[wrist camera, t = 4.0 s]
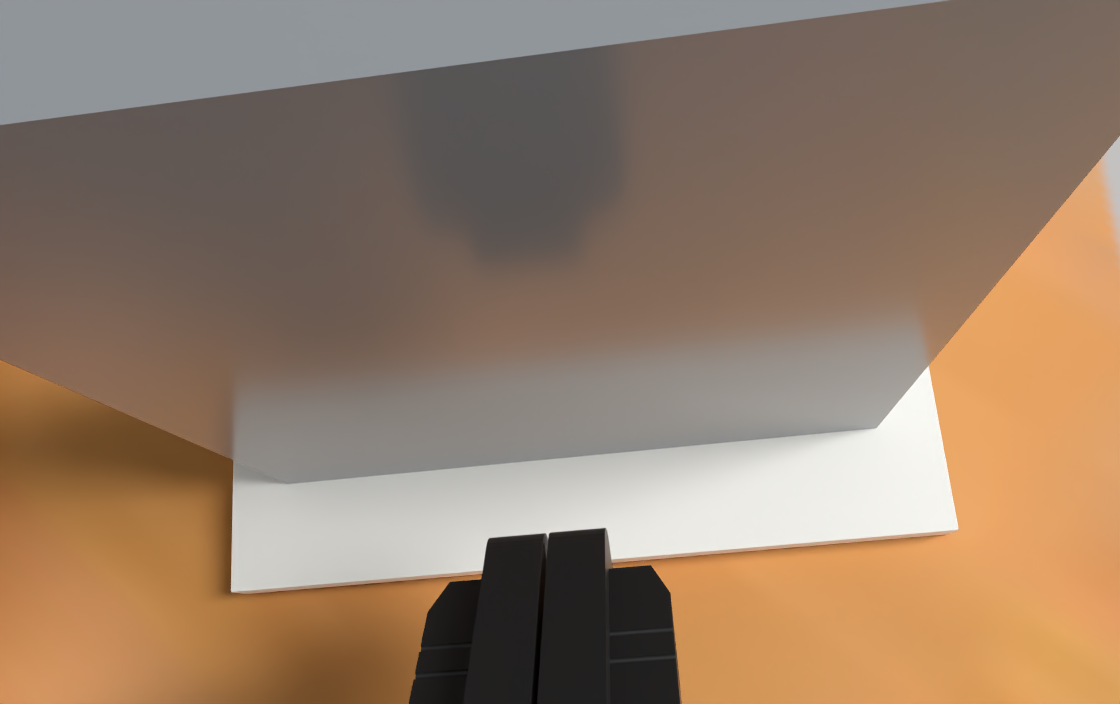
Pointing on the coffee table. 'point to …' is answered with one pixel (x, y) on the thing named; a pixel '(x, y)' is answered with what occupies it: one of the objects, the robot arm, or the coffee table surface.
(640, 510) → the mat
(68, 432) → the coffee table surface
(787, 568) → the coffee table surface
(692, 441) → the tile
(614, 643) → the robot arm
